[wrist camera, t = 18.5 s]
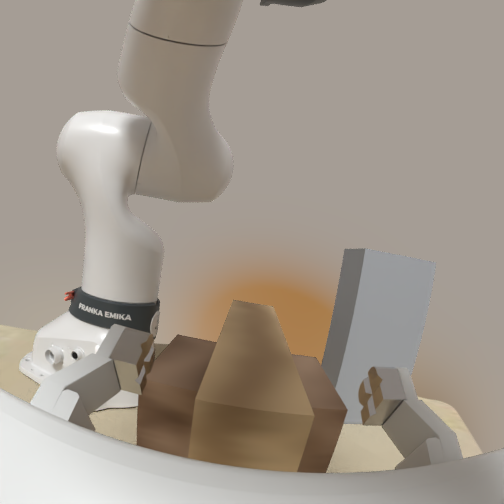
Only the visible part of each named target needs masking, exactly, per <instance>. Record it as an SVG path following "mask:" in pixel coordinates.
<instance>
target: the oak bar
mask: <svg viewBox="0 0 504 504" xmlns="http://www.w3.org/2000/svg"><path fill="white" fill-rule="evenodd" d="M314 416H315V415H314V413H313V410H312V407H311V405H310V402H309V400H308V397H307V394H306V392H305V389H304V386H303V384H302V381H301V379H300V376H299V373H298V371H297V368H296V365H295V363H294V360H293V358H292V355H291V352H290V350H289V347H288V344H287V342H286V339H285V337H284V334H283V332H282V329H281V326H280V323H279V321H278V318H277V316H276V313H275V311H274V308H273V306H267V305H260V304H254V303H248V302H242V301H236V300H233V302H232V305H231V307H230V310H229V312H228V315H227V318H226V320H225V323H224V325H223V328H222V331H221V333H220V336H219V338H218V341H217V344H216V346H215V349H214V351H213V354H212V357H211V359H210V362H209V364H208V367H207V370H206V372H205V375H204V377H203V380H202V383H201V385H200V388H199V390H198V393H197V396H196V398H195V405H194V412H193V420H192V428H191V437H190V445H189V454H188V458H190V459H194V460H200V461H205V462H210V463H216V464H222V465H229V466H236V467H243V468H252V469H261V470H272V471H285V472H297V470H298V467H299V464H300V461H301V458H302V455H303V452H304V449H305V446H306V443H307V439H308V436H309V433H310V430H311V426H312V423H313V420H314Z"/></svg>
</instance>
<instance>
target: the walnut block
mask: <svg viewBox="0 0 504 504" xmlns="http://www.w3.org/2000/svg"><path fill="white" fill-rule="evenodd" d="M216 344H217V342H212V341H207V340H202V339H197V338H191V337H187V336H182V335H177V336H176V337H175V338H174V339H173V340H172V342H171V343H170V344H169V345H168V346H167V347H166V348H165V349H164V351H163V352H162V353H161V354H160V355H159V356H158V357H157V358H156V360H155V361H154V363H153V367H152V370H151V372H150V373H149V374H147V375H146V378H147V383H146V386H145V388H144V391H143V393H142V395H139V394H138V414H137V446H141V447H144V448H148V449H152V450H155V451H159V452H163V453H167V454H172V455H176V456H180V457H185V458H188V454H189V445H190V437H191V428H192V420H193V412H194V405H195V398H196V396H197V393H198V390H199V388H200V385H201V383H202V380H203V377H204V375H205V372H206V370H207V367H208V364H209V362H210V359H211V357H212V354H213V351H214V349H215V346H216ZM291 355H292V358H293V360H294V363H295V365H296V368H297V371H298V373H299V376H300V379H301V381H302V384H303V386H304V389H305V392H306V394H307V397H308V400H309V402H310V405H311V407H312V410H313V413H314V415H315V416H314V420H313V423H312V426H311V430H310V433H309V436H308V439H307V443H306V446H305V449H304V452H303V455H302V458H301V461H300V464H299V467H298V470H297V472H304V473H326V470H327V468H328V465H329V463H330V460H331V457H332V455H333V452H334V449H335V447H336V444H337V441H338V438H339V435H340V432H341V429H342V426H343V423H344V420H345V417H346V414H347V411H348V409H347V408H346V406H345V404H344V403H343V401H342V399H341V398H340V396H339V395H338V393H337V391H336V390H335V388H334V386H333V385H332V383H331V381H330V380H329V378H328V376H327V375H326V373H325V371H324V370H323V368H322V366H321V365H320V363H319V362H318V360H317V358H316V357H308V356H301V355H293V354H291Z"/></svg>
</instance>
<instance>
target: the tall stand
mask: <svg viewBox="0 0 504 504" xmlns="http://www.w3.org/2000/svg"><path fill="white" fill-rule="evenodd" d="M435 267H436V263H435V262H430V261H425V260H420V259H416V258H411V257H406V256H401V255H395V254H390V253H385V252H380V251H375V250H370V249H345V250H344V256H343V263H342V268H341V274H340V279H339V285H338V290H337V295H336V300H335V306H334V310H333V315H332V320H331V325H330V330H329V334H328V339H327V343H326V348H325V352H324V356H323V360H322V365H321V366H322V368H323V370H324V371H325V373H326V375H327V376H328V378H329V380H330V381H331V383H332V385H333V386H334V388H335V390H336V391H337V393H338V395H339V396H340V398H341V399H342V401H343V403H344V404H345V406H346V408H347V409H348V411H347V414H346V417H345V420H344V424H363V423H362V417H361V410H362V408H363V406H362V405H361V404H360V402H359V398H358V391H359V387H360V384H361V383H362V381H363V379H365V378H367V377H368V371H369V369H370V368H371V367H373V366H376V367H395V368H396V367H397V368H407V369H408V370H409V372H410V375H411V374H412V370H413V367H414V364H415V360H416V357H417V352H418V349H419V345H420V341H421V337H422V333H423V329H424V325H425V320H426V315H427V311H428V306H429V301H430V296H431V291H432V285H433V280H434V274H435Z"/></svg>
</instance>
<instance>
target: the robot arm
mask: <svg viewBox="0 0 504 504" xmlns="http://www.w3.org/2000/svg"><path fill="white" fill-rule="evenodd" d="M325 1H326V0H261V3H260V5H263V6H264V5H265V6H268V5H270V4H280V5H288V6H296V7H304V6H309V5H314V4H318V3H322V2H325ZM242 2H243V0H136V1H135V4H134V7H133V10H132V13H131V16H130V19H129V23H128V27H127V31H126V35H125V39H124V43H123V47H122V52H121V56H120V61H119V66H118V71H117V78H118V83H119V86H120V88H121V91H122V93H123V95H124V96H125V98H126V99H127V100H128V101H129V102H130V103H131V104H132V105H134V106H135V107H136V108H137V109H139V110H140V111H142V112H143V113H144V114H145V115H146V116H147V117H144V116H139V115H133V114H128V113H122V112H116V111H110V110H104V111H86V112H79V113H77V114H76V115H74V116H73V117H72V118H71V119H70V120H69V121H68V122H67V123H66V124H65V126H64V127H63V129H62V131H61V133H60V136H59V138H58V142H57V150H56V154H57V161H58V165H59V167H60V170H61V171H62V173H63V175H64V176H65V177H66V178H67V180H68V181H69V182H70V184H71V185H72V187H73V188H74V190H75V192H76V194H77V196H78V198H79V201H80V204H81V207H82V210H83V215H84V221H85V253H84V266H83V277H82V286H81V287H79V288H76V289H74V290H73V291H71V292H66V293H65V294H69V296H67V297H66V298H65V299H64V300H65V301H67V300H71V305H70V307H69V311H67V312H65V313H64V314H62V315H61V316H59V317H58V318H56V319H54V320H53V321H51V322H50V323H48V324H47V325H45V326H43V327H42V328H41V329H40V330H39V331H38V332H37V334H36V336H35V339H34V344H33V351H32V352H30V353H28V354H27V355H26V356H24V357H23V358H22V360H21V361H20V364H19V370H20V371H21V372H22V373H23V374H25V375H26V376H28V377H29V378H31V379H32V380H34V381H35V382H37V383H39V384H40V387H39V389H38V390H37V392H36V394H35V395H34V397H33V399H32V401H31V402H30V403H28V402H26V401H24V400H22V399H20V398H18V397H16V396H14V395H12V394H10V393H9V392H7V391H5V390H3V389H2V388H0V504H504V448H502V449H498V450H495V451H491V452H488V453H484V454H480V455H476V456H472V457H468V458H464V459H463V457H462V453H461V449H460V446H459V442H458V439H457V436H456V433H455V432H453V431H452V430H451V429H450V428H449V427H448V426H447V425H446V424H445V423H444V422H443V421H442V420H441V419H440V418H439V417H438V416H437V415H436V414H435V413H434V412H433V411H432V410H431V409H430V408H429V407H428V406H427V405H426V404H425V403H424V402H423V401H422V400H418V397H417V394H416V391H415V388H414V385H413V382H412V378H411V375H410V372H409V370H408V369H407V368H397V367H396V368H395V367H376V366H373V367H371V368H370V369H369V371H368V377H367V378H365V379H363V381H362V383H361V384H360V387H359V391H358V398H359V402H360V404H361V405H362V406H363V408H362V410H361V417H362V423H363V425H372V426H382V428H383V429H384V431H385V432H386V433H387V435H388V436H389V438H390V439H391V440H392V442H393V443H394V444H395V446H396V447H397V448H398V450H399V451H400V453H401V454H402V455H403V457H404V458H405V459H404V460H402V461H401V462H400V463H399V464H398V465H397V466H396V467H395V470H386V471H373V472H354V473H304V472H285V471H272V470H261V469H252V468H243V467H236V466H229V465H222V464H216V463H210V462H205V461H200V460H194V459H190V458H185V457H180V456H176V455H172V454H167V453H163V452H159V451H155V450H152V449H148V448H144V447H141V446H137V445H134V444H131V443H127V442H124V441H121V440H118V439H115V438H112V437H109V436H106V435H103V434H100V433H97V432H95V428H94V425H93V424H92V422H91V420H90V418H89V416H88V415H90V414H91V413H92V412H94V411H97V410H102V409H106V408H125V407H135V406H138V394H139V395H142V393H143V391H144V388H145V386H146V383H147V378H146V375H147V374H149V373H150V372H151V370H152V367H153V363H154V358H155V350H154V339H155V338H156V334H157V330H158V323H159V315H160V312H159V306H160V301H159V299H158V291H159V284H160V277H161V270H162V264H163V257H164V246H163V243H162V240H161V238H160V237H159V235H158V234H157V233H156V232H155V231H154V230H153V229H152V228H150V227H149V226H148V225H147V224H146V223H144V222H143V221H142V220H140V219H139V218H138V217H136V216H135V215H134V214H133V213H132V212H131V211H130V210H129V208H128V204H127V200H128V196H129V195H132V194H135V192H136V194H137V195H143V196H149V197H154V198H159V199H164V200H170V201H175V202H211V201H213V200H215V199H216V198H217V197H219V196H220V195H221V194H222V193H223V191H224V190H225V189H226V187H227V186H228V184H229V182H230V179H231V177H232V173H233V156H232V152H231V149H230V147H229V145H228V143H227V142H226V140H224V138H222V136H221V135H220V134H219V133H218V131H217V129H216V128H215V126H214V124H213V121H212V119H211V115H210V111H209V95H210V89H211V86H212V83H213V79H214V76H215V73H216V70H217V67H218V64H219V61H220V59H221V56H222V54H223V51H224V49H225V47H226V44H227V42H228V40H229V37H230V35H231V33H232V30H233V28H234V25H235V23H236V20H237V17H238V14H239V12H240V8H241V5H242Z"/></svg>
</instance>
